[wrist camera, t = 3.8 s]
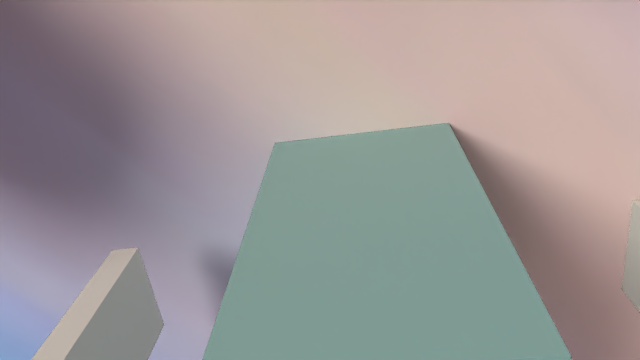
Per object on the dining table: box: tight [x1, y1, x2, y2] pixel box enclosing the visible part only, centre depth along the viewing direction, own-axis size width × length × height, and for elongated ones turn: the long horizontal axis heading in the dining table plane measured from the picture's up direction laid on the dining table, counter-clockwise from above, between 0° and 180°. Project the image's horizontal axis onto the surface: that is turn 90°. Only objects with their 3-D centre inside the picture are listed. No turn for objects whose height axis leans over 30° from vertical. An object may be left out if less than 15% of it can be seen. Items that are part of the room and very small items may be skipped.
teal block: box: [202, 123, 571, 360], centre depth 12 cm, size 5×6×9 cm
